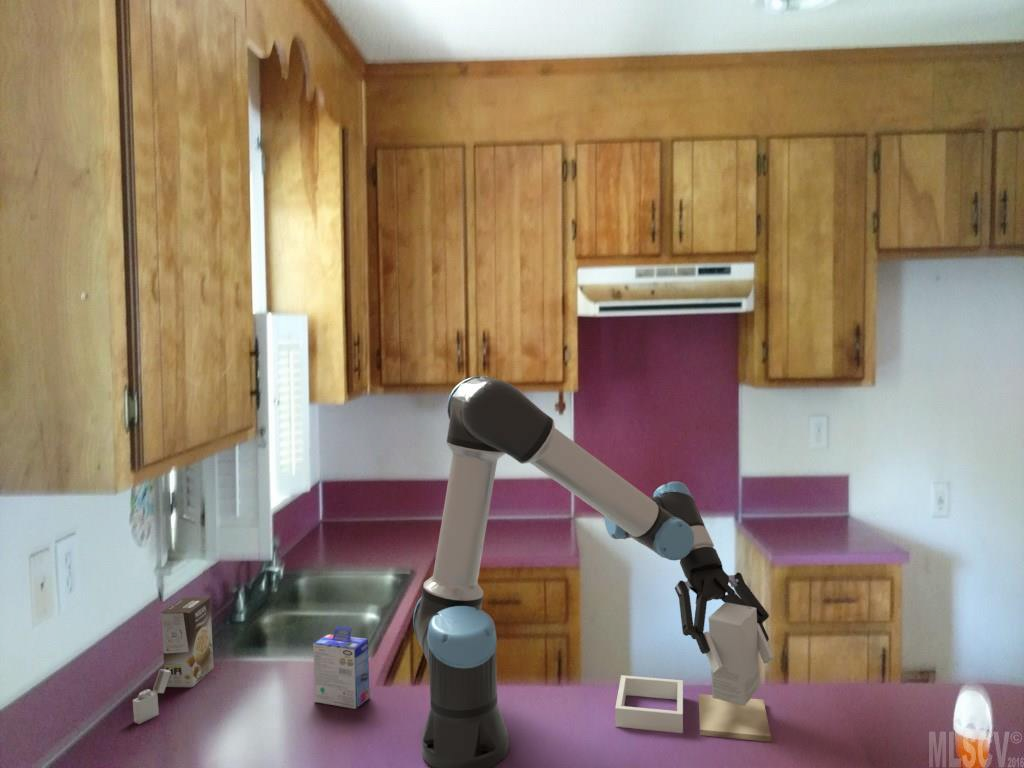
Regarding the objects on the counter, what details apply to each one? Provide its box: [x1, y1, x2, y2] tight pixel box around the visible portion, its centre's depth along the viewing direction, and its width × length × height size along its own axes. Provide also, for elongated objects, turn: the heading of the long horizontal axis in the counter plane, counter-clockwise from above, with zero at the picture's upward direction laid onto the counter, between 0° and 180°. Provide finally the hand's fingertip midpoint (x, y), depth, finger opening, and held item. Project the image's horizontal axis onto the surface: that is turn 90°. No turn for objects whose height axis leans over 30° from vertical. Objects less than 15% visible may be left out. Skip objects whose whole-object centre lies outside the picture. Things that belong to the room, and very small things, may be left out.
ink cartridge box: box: [312, 625, 371, 710], centre depth 147 cm, size 10×6×14 cm, turn 71°
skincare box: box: [708, 602, 761, 706], centre depth 136 cm, size 8×7×16 cm
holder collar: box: [614, 674, 684, 734], centre depth 140 cm, size 12×13×4 cm
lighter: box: [132, 668, 171, 725], centre depth 144 cm, size 7×2×8 cm, turn 148°
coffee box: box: [160, 596, 214, 688], centre depth 159 cm, size 9×6×16 cm
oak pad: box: [698, 693, 772, 743], centre depth 137 cm, size 12×13×1 cm
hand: (743, 665), depth 134 cm, fingers closed on skincare box, 10 cm apart
